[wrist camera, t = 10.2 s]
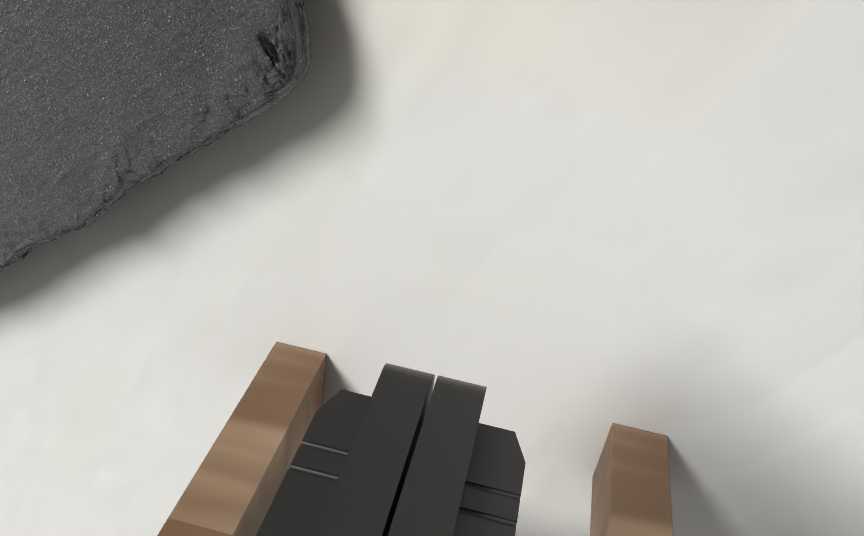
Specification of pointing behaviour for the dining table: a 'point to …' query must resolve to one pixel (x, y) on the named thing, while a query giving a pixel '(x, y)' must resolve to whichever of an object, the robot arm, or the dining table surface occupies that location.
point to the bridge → (290, 418)
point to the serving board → (126, 97)
